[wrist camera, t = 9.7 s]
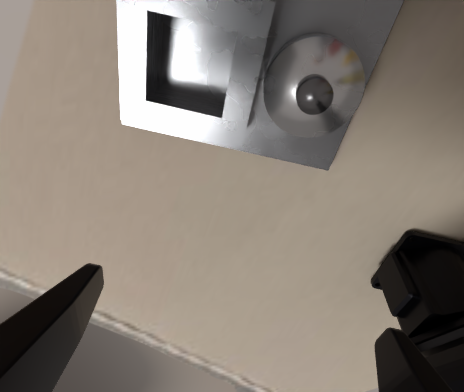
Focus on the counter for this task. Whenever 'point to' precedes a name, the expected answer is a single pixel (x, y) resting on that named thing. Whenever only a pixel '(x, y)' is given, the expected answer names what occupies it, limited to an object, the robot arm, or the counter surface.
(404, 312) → the robot arm
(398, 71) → the counter surface
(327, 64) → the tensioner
